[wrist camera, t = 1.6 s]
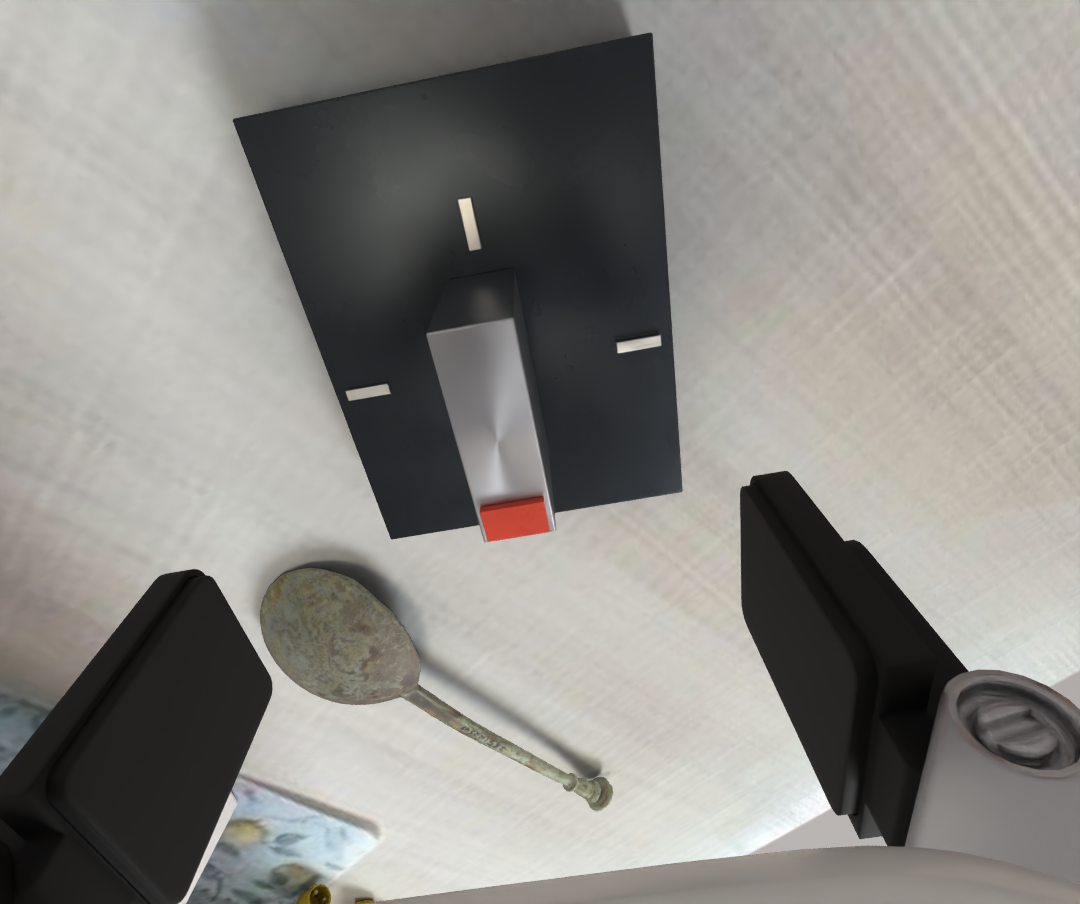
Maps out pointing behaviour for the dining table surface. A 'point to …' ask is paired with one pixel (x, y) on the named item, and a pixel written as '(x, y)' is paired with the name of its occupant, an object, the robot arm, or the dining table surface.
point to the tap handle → (494, 403)
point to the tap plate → (486, 264)
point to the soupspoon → (371, 660)
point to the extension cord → (319, 896)
